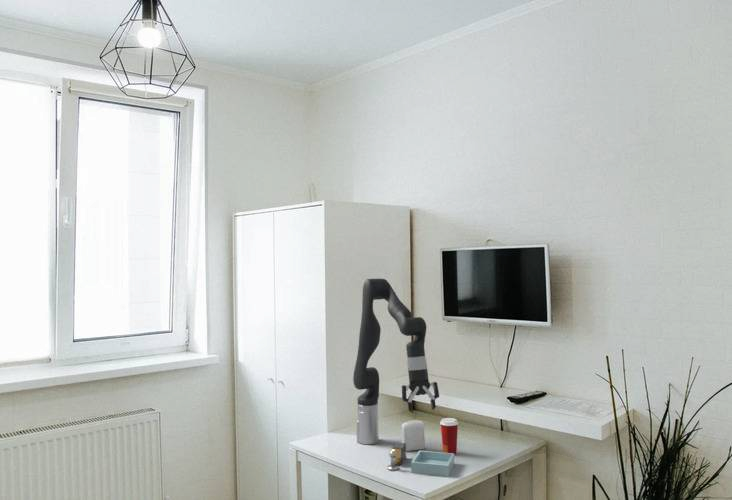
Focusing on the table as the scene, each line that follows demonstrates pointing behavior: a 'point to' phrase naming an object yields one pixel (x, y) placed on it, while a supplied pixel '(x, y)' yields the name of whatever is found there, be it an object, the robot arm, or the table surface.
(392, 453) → the stud post
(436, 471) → the bin
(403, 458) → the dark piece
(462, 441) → the table surface
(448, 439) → the paper cup
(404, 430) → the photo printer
